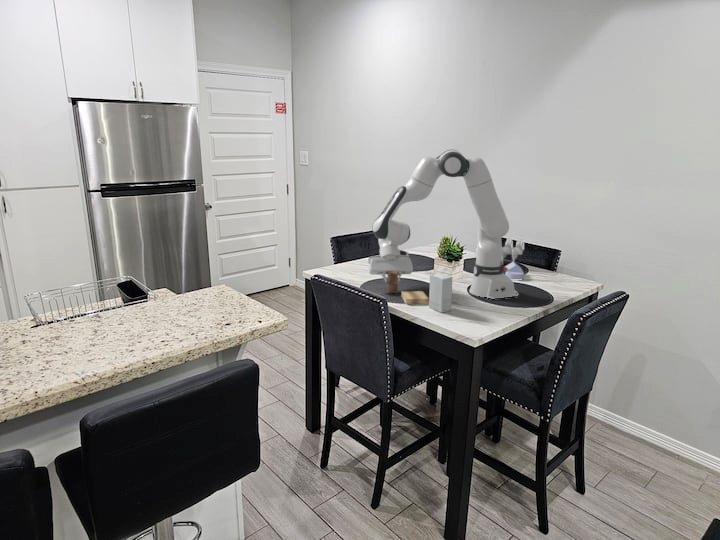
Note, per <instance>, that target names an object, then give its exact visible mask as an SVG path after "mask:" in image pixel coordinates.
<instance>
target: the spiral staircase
mask: <svg viewBox="0 0 720 540" xmlns="http://www.w3.org/2000/svg"><path fill="white" fill-rule="evenodd" d="M501 243H503V242H502V241H501ZM524 250H525V242H524V237H523V236H519V237H518V238H517V241H516V244H515V247H514V241H513V240H512V236H511V235H508V237H506V241H505V244H504V246H502V255H501V264H500V265H503V266H504V261H505V259H506V258H507V256H508V255H511V263H512V262H515V261H516V259H518V256H519V255H520V256H523V252H524ZM475 254H476V255H477V246H476V250H475Z"/></svg>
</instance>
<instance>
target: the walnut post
mask: <svg viewBox="0 0 720 540" xmlns="http://www.w3.org/2000/svg"><path fill="white" fill-rule="evenodd" d="M386 277H387V278H388V280H389V282H386V293H387V292H388V293H397V294H398V284H399V282H398V277H399V276H398V272H397V271H388V274H387V276H386ZM388 293H387V294H388Z"/></svg>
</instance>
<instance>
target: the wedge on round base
mask: <svg viewBox="0 0 720 540" xmlns="http://www.w3.org/2000/svg"><path fill="white" fill-rule="evenodd" d="M504 267H506V268H508V271H507V272H504V274H505V275H506V276H507V277H509V278H510V279H524V276H525V275H524V274H525V273H524V271H523V269H522V267H521V266H520V265H518V264H517V263H516V262H515V261H514V262H512V261H511V262H510V263H508V264H507V265H504Z"/></svg>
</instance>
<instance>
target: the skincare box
mask: <svg viewBox="0 0 720 540" xmlns="http://www.w3.org/2000/svg"><path fill="white" fill-rule="evenodd" d="M428 291H429V295H428V298H429V303H428V308H430V309H432V310H434V311H437V312H438V313H441V314H443V313H447V312H450V311H451V310H452V298H453V276H451V275H447V274H443V273H440V272H438V273H437V272H436V273H433V274H430V275H429V290H428Z"/></svg>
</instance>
